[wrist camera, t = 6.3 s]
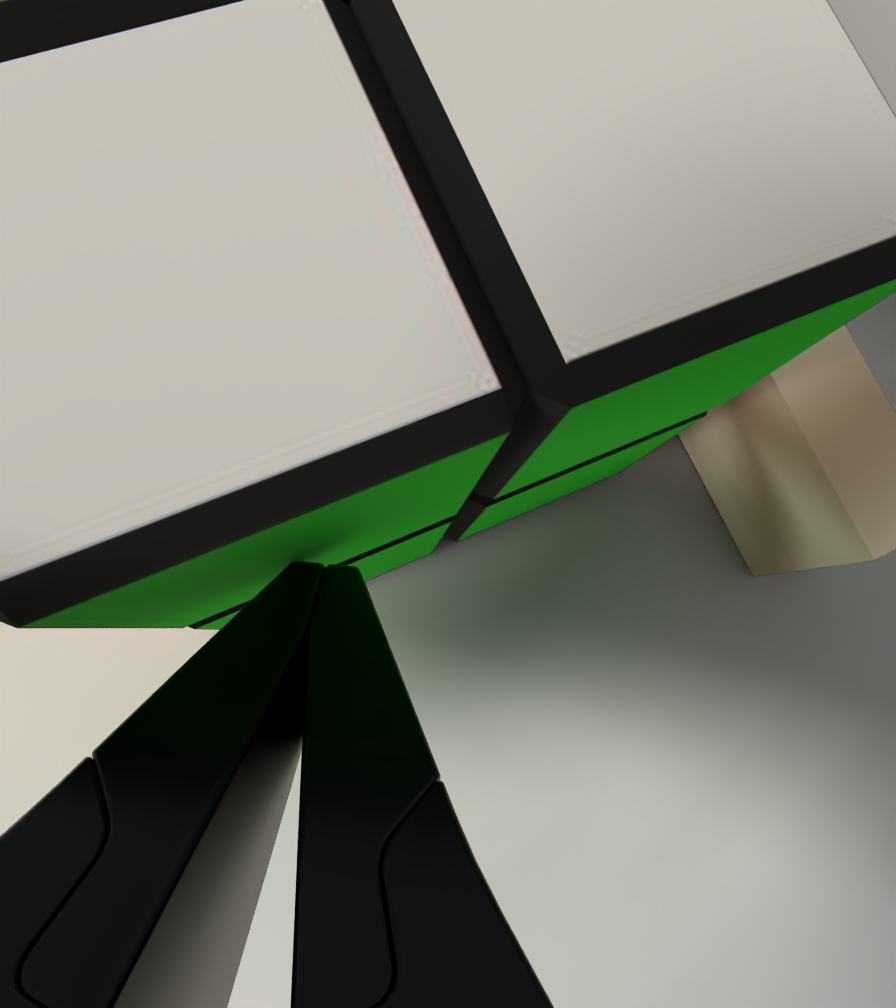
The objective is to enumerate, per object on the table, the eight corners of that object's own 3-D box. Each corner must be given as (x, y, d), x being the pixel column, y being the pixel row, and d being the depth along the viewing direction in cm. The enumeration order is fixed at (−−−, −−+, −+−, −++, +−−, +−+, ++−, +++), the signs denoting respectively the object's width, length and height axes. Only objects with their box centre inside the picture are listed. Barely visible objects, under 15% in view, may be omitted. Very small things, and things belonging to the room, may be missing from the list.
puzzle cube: (464, 137, 18) (571, -481, 8) (625, 471, 16) (999, 232, 6) (92, 253, 16) (-370, -352, 6) (238, 636, 15) (-51, 650, 5)
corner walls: (818, 543, 16) (956, 517, 12) (112, 905, 13) (1, 1020, 9) (508, -23, 19) (542, -196, 15) (-156, 171, 16) (-336, 18, 12)
